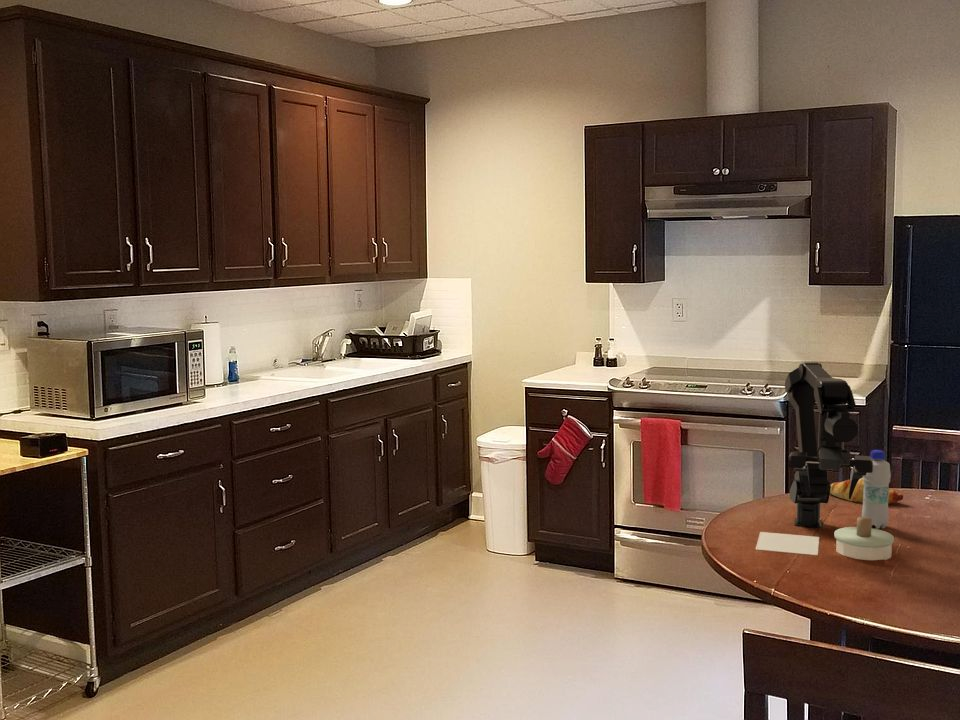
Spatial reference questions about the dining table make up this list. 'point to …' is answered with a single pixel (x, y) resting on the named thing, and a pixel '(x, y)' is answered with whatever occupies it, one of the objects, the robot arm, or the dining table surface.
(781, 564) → the dining table surface
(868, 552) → the bowl
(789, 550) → the mat
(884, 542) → the lid
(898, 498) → the croissant
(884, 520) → the bottle
